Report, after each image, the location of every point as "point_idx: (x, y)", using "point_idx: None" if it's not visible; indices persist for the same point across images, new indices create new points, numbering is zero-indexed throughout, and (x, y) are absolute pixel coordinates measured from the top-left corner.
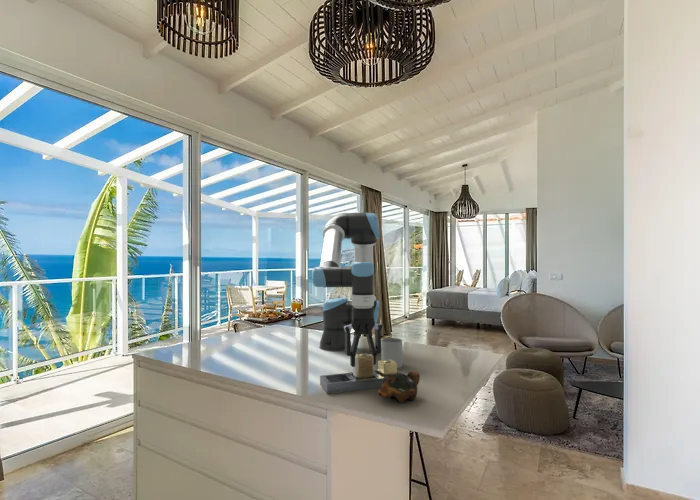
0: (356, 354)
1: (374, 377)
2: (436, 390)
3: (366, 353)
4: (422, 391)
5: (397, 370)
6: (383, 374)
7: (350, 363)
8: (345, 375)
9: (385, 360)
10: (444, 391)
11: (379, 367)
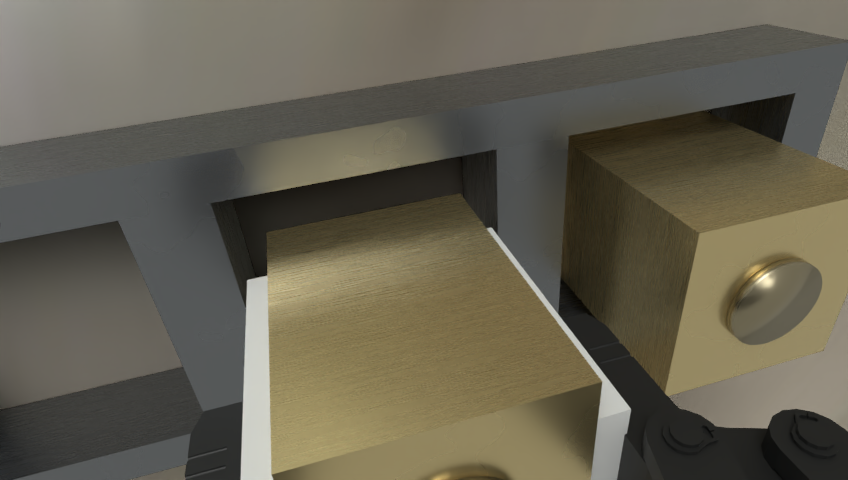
0: (334, 475)
1: None
2: (788, 369)
3: (574, 400)
4: (711, 384)
5: (809, 146)
6: (594, 311)
7: (190, 452)
8: (132, 244)
9: (776, 278)
10: (810, 382)
11: (635, 236)
